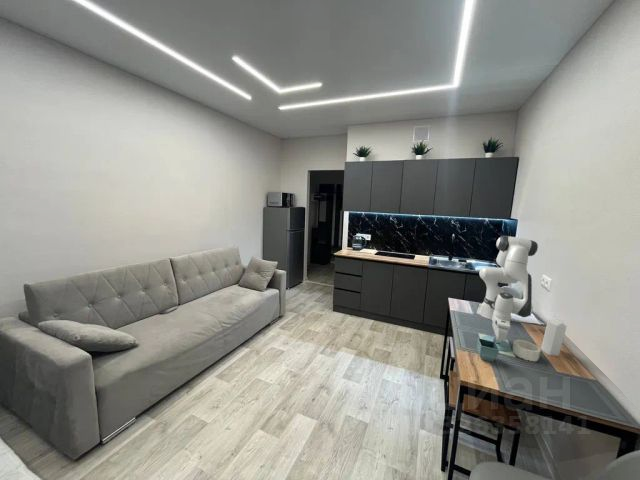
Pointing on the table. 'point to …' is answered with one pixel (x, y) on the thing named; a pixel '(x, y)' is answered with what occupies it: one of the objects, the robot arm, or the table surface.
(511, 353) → the mat
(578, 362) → the table surface
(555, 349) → the milk
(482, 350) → the flower pot
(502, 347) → the lid
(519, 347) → the bowl
